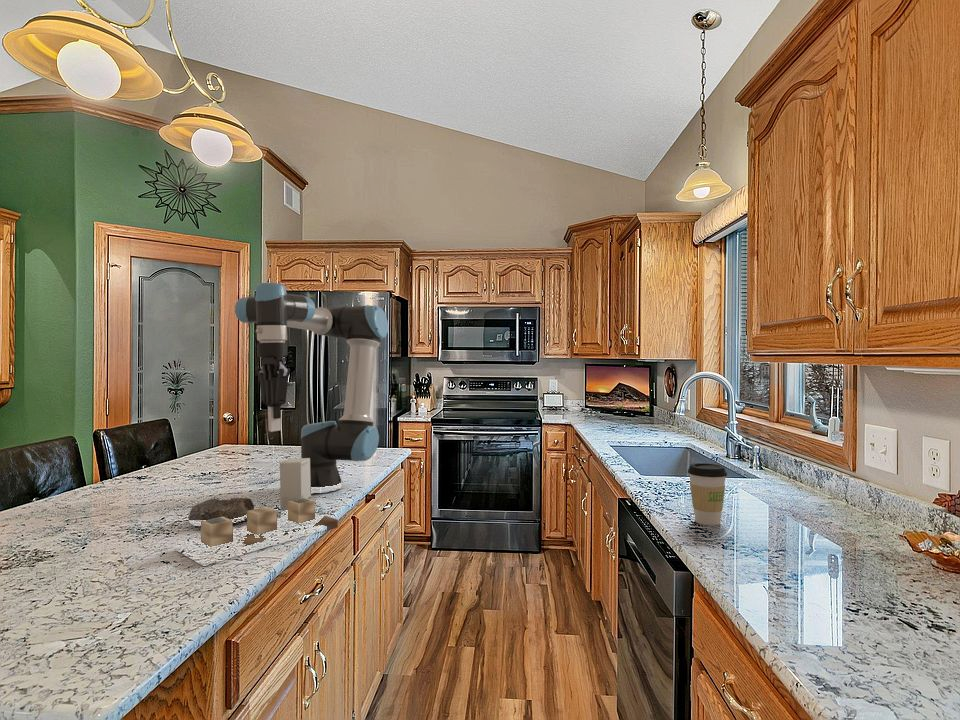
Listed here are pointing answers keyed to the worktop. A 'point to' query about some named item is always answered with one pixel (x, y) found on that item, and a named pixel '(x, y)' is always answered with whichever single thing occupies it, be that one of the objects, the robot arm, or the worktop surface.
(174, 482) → the worktop surface
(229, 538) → the marked block 1
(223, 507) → the rock
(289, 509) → the marked block 2
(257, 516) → the plain beech block
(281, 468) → the skincare box
